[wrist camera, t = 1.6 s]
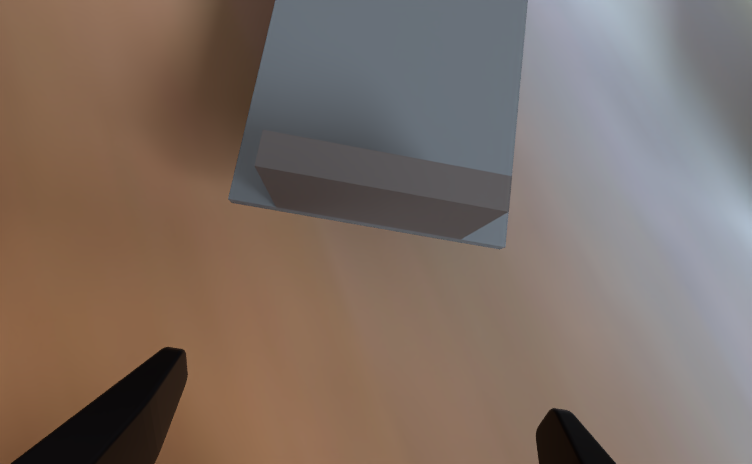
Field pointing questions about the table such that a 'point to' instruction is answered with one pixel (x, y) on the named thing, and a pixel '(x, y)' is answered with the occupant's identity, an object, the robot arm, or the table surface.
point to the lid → (387, 115)
